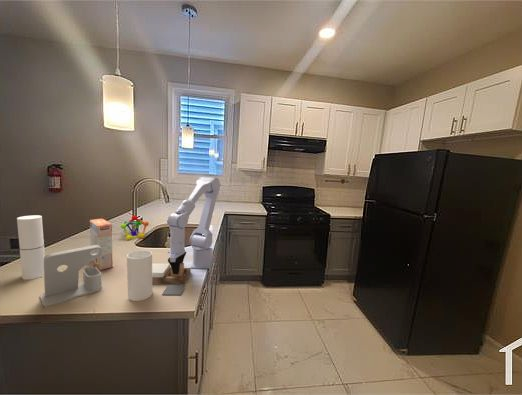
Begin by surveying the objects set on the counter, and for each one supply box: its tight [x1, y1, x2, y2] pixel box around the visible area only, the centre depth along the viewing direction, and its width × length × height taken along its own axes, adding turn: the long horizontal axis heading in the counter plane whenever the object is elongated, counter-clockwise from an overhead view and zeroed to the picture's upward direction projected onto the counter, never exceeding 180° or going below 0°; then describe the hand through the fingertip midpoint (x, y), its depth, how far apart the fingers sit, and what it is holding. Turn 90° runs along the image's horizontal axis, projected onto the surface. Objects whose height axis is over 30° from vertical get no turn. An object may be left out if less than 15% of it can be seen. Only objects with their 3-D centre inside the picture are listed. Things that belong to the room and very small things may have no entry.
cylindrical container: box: [16, 214, 46, 281], centre depth 95 cm, size 7×7×25 cm
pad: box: [161, 284, 186, 296], centre depth 92 cm, size 7×7×1 cm
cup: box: [126, 249, 153, 302], centre depth 86 cm, size 8×8×16 cm
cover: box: [152, 262, 171, 277], centre depth 100 cm, size 9×9×2 cm
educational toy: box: [120, 215, 150, 241], centre depth 150 cm, size 16×13×15 cm
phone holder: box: [39, 245, 103, 308], centre depth 85 cm, size 17×10×18 cm, turn 139°
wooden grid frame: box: [152, 266, 192, 285], centre depth 101 cm, size 18×10×2 cm, turn 94°
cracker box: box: [89, 218, 114, 271], centre depth 109 cm, size 14×6×21 cm, turn 47°
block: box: [171, 262, 185, 277], centre depth 101 cm, size 4×4×6 cm
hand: (177, 271), depth 101 cm, fingers closed on block, 4 cm apart
